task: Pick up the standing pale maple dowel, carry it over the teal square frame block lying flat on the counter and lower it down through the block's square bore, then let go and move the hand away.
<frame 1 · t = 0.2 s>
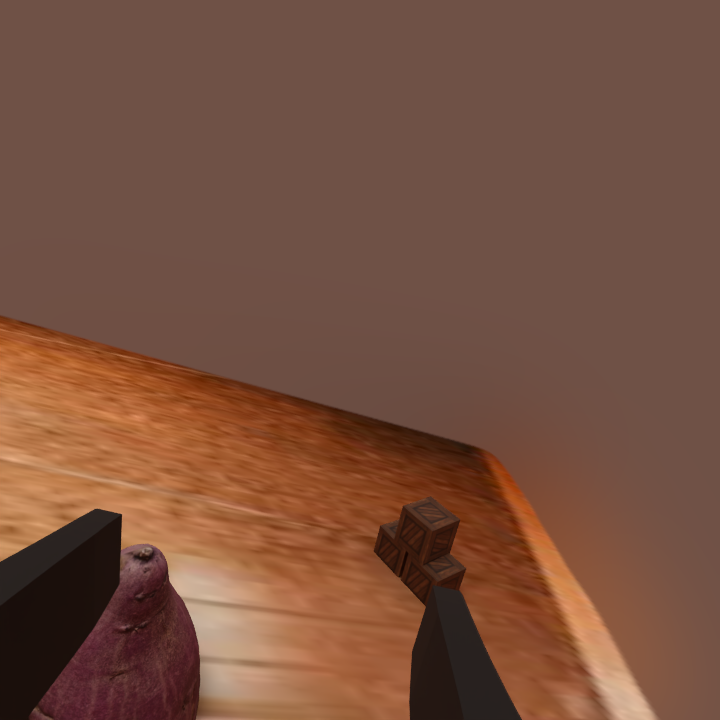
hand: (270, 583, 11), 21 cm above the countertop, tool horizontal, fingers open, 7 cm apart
stack of crates: (401, 586, 42), on the countertop
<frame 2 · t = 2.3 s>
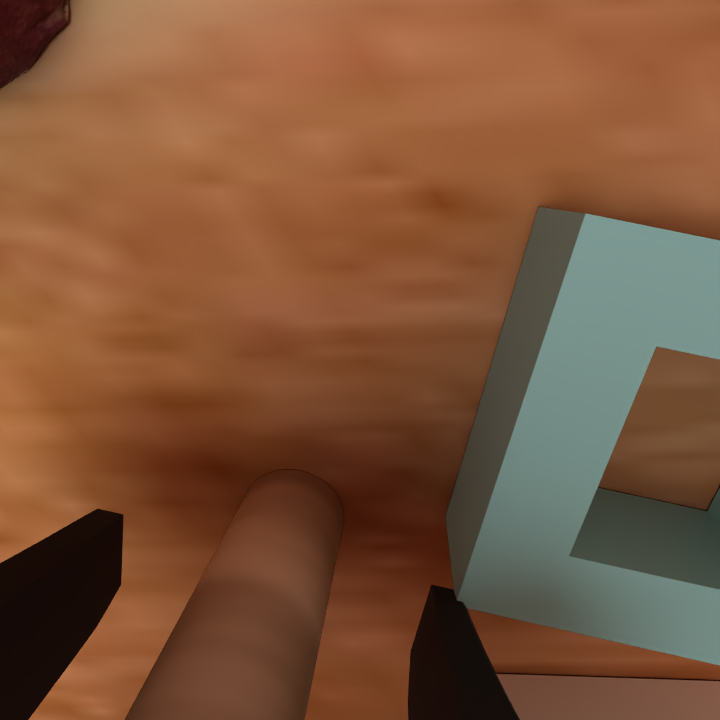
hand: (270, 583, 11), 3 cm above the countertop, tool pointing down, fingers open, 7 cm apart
teal square frame block: (653, 414, 12), on the countertop
maple dowel: (293, 514, 14), on the countertop
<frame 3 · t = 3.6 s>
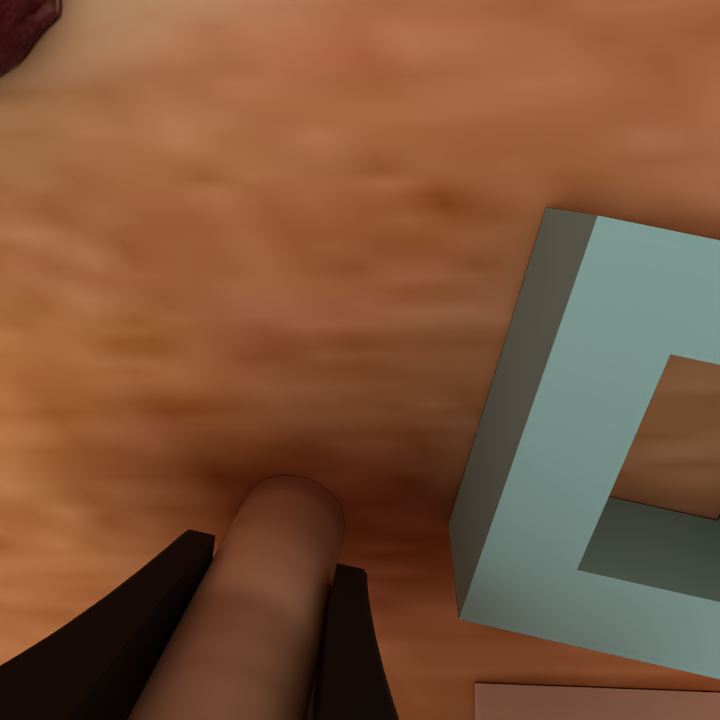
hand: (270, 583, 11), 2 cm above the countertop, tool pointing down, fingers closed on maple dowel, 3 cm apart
teal square frame block: (663, 421, 11), on the countertop
maple dowel: (292, 520, 13), on the countertop, touching gripper
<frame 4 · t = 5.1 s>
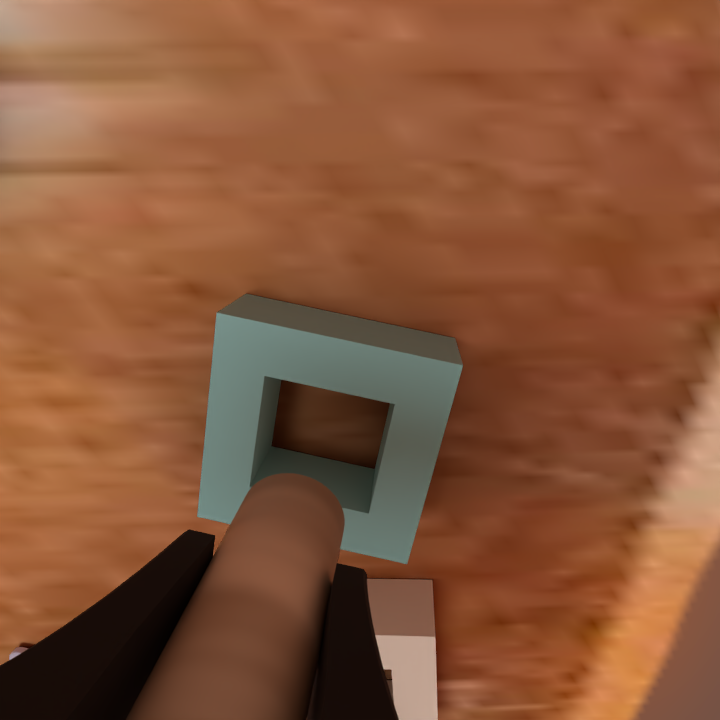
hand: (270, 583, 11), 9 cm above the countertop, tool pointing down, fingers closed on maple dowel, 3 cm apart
teal square frame block: (331, 410, 20), on the countertop
white peg holder: (350, 645, 24), on the countertop
maple dowel: (292, 518, 13), point 7 cm above the countertop, touching gripper
when the fingers open (4 cm above the countertop, at t = 6.8 s): maple dowel drops 1 cm, resting in teal square frame block.
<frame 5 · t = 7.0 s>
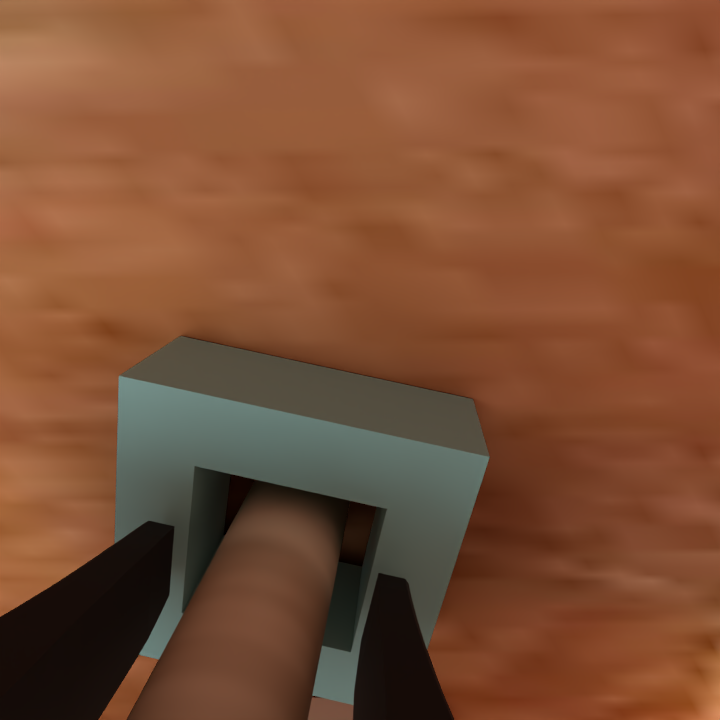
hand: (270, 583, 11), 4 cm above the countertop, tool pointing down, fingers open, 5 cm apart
teal square frame block: (303, 491, 15), on the countertop
maple dowel: (304, 489, 15), resting in teal square frame block
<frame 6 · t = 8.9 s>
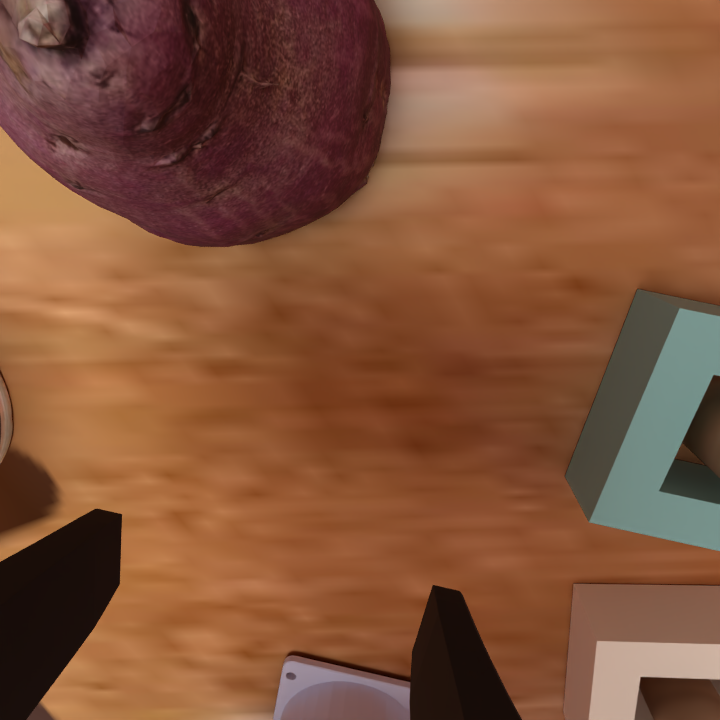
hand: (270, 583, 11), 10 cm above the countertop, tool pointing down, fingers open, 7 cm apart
walnut dowel: (691, 717, 20), in the white peg holder
vegetable: (246, 86, 17), on the countertop
teal square frame block: (701, 411, 19), on the countertop
white peg holder: (657, 653, 23), on the countertop
maple dowel: (702, 409, 19), resting in teal square frame block
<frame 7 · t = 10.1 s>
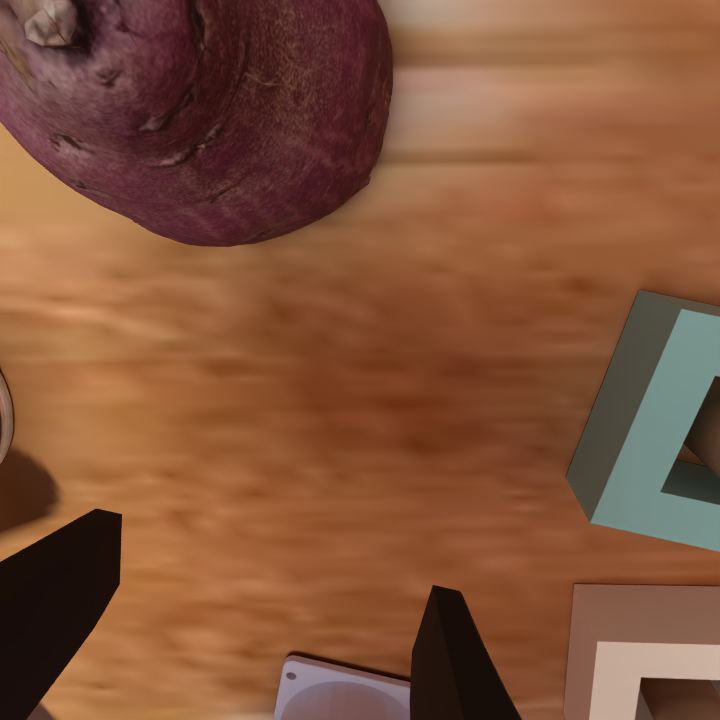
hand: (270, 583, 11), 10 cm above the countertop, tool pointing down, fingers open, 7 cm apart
walnut dowel: (691, 718, 20), in the white peg holder
vegetable: (248, 86, 17), on the countertop
teal square frame block: (702, 411, 19), on the countertop
white peg holder: (657, 654, 23), on the countertop
maple dowel: (703, 410, 19), resting in teal square frame block
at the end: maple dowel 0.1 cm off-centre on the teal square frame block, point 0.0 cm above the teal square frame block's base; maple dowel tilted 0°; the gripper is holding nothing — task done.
